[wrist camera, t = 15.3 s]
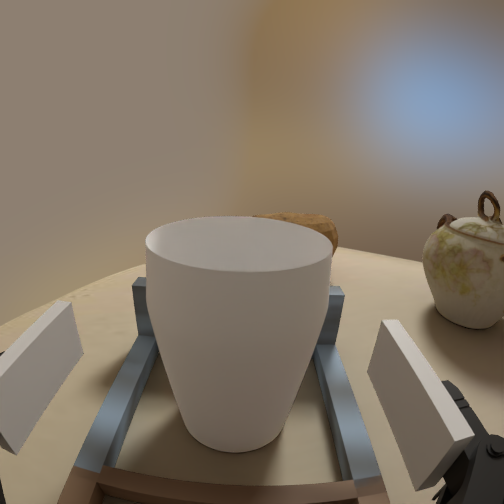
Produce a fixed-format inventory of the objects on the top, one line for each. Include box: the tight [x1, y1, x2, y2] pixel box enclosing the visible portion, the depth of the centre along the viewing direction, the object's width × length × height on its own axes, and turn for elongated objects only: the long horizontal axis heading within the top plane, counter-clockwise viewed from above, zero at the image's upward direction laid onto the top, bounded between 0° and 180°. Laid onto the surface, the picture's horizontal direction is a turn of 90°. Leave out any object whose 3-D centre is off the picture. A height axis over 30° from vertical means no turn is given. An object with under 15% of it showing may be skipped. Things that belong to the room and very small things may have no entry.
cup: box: [146, 216, 333, 452], centre depth 17 cm, size 9×9×12 cm
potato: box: [252, 212, 338, 257], centre depth 42 cm, size 10×14×8 cm
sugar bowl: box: [423, 191, 504, 329], centre depth 29 cm, size 20×15×15 cm
